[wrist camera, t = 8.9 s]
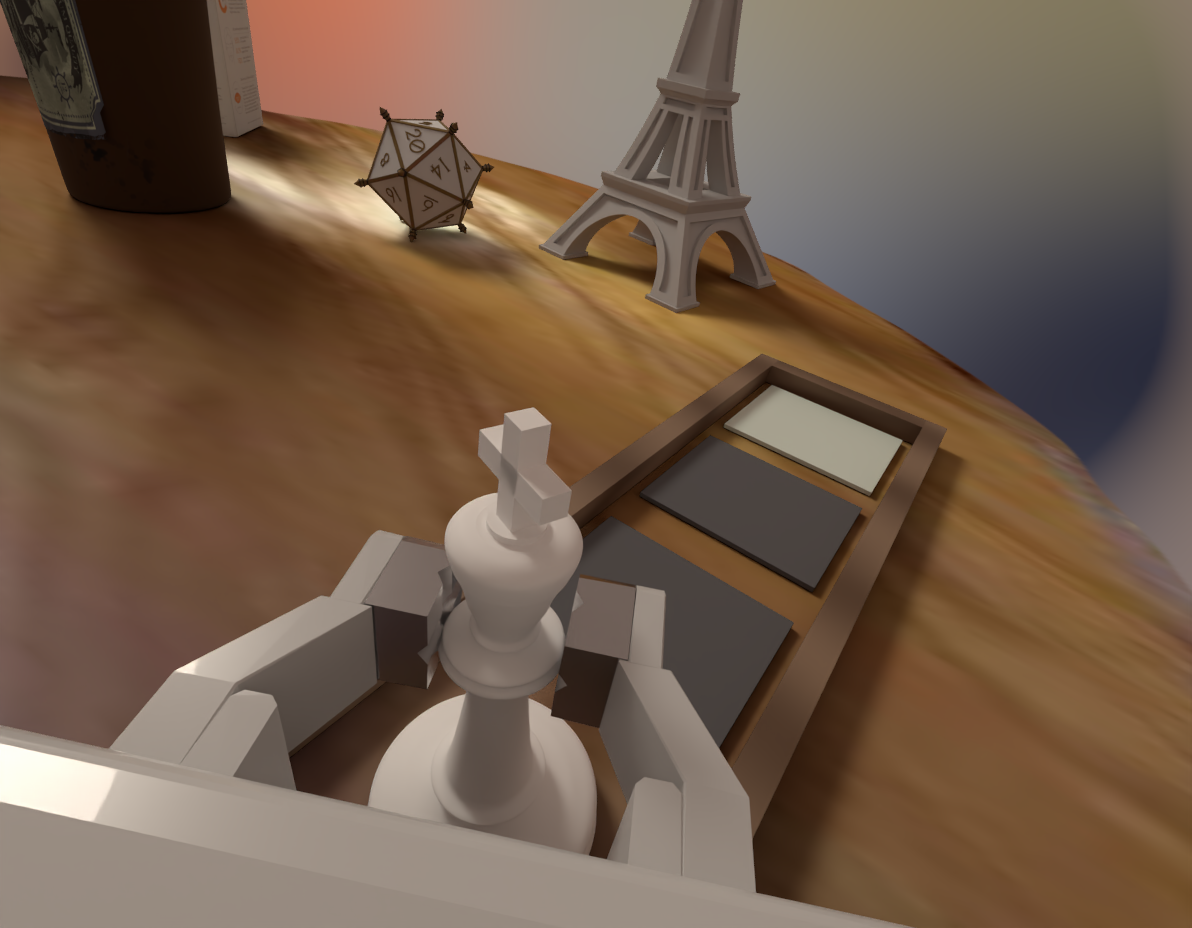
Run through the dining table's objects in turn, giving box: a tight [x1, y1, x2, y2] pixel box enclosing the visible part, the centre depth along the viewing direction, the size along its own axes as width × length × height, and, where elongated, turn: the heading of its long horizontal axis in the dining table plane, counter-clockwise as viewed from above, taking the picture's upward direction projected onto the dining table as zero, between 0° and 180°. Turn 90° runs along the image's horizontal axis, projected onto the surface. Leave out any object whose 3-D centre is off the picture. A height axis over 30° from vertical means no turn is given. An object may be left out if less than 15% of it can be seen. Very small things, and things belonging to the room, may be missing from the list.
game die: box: [354, 107, 494, 242], centre depth 44 cm, size 9×8×10 cm
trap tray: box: [288, 354, 947, 839], centre depth 21 cm, size 32×10×1 cm, turn 145°
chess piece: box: [368, 407, 597, 855], centre depth 11 cm, size 5×5×10 cm
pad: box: [724, 385, 903, 496], centre depth 30 cm, size 6×7×1 cm
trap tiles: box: [550, 435, 862, 748], centre depth 21 cm, size 14×7×1 cm, turn 145°
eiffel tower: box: [539, 0, 776, 313], centre depth 40 cm, size 13×13×30 cm
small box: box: [207, 0, 263, 137], centre depth 59 cm, size 8×6×13 cm
